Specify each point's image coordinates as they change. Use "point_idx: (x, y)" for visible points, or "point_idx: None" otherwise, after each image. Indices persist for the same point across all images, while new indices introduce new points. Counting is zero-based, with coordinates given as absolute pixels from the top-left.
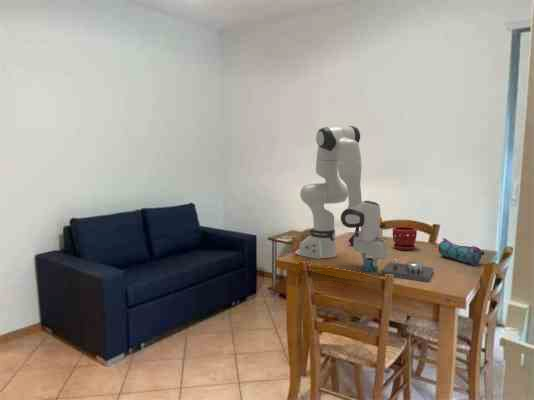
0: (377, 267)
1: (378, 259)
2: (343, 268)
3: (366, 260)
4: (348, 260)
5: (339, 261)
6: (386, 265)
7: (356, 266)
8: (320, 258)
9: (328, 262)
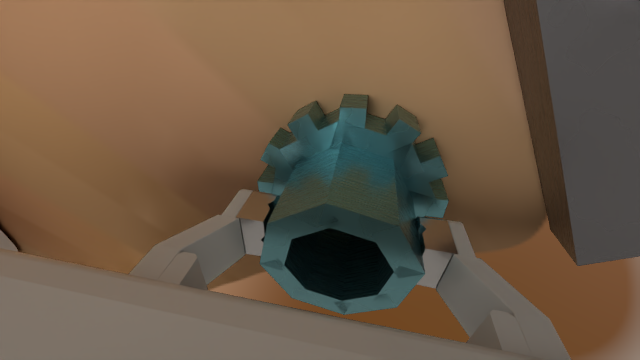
0: (444, 171)
1: (538, 314)
2: (238, 279)
3: (347, 307)
4: (28, 118)
5: (67, 194)
6: (546, 18)
7: (224, 196)
8: (9, 240)
9: (94, 254)
